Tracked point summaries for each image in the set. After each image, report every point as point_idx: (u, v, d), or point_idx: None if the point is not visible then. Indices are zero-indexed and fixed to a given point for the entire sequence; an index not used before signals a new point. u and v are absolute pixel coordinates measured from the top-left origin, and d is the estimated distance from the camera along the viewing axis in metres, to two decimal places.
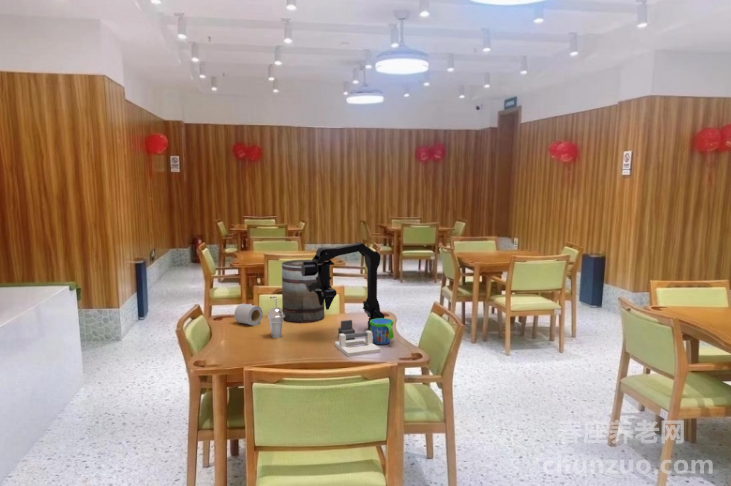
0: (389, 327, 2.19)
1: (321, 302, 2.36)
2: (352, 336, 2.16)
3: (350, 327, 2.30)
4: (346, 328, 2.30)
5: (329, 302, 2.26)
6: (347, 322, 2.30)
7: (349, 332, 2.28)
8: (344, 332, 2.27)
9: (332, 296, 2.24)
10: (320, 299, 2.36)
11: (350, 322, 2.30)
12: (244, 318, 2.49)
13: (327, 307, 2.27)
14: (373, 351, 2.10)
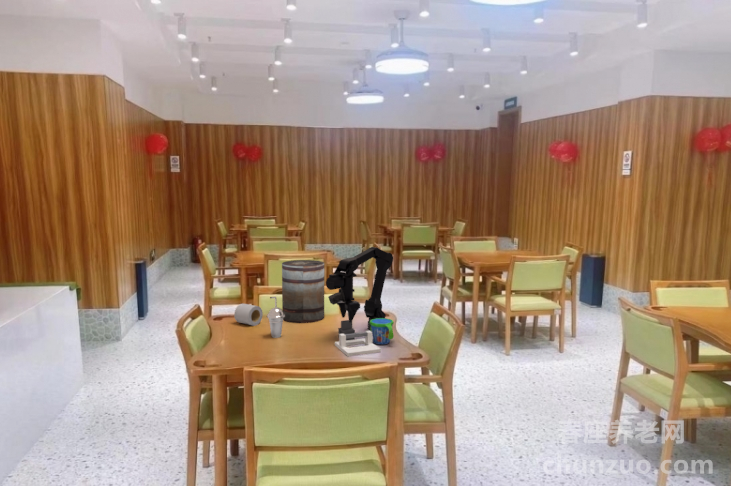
0: (389, 327, 2.19)
1: (343, 314, 2.34)
2: (352, 336, 2.16)
3: (350, 327, 2.30)
4: (346, 328, 2.30)
5: (352, 315, 2.25)
6: (347, 322, 2.30)
7: (349, 332, 2.28)
8: (344, 332, 2.27)
9: (356, 309, 2.23)
10: (342, 311, 2.34)
11: (350, 322, 2.30)
12: (244, 318, 2.49)
13: (350, 320, 2.25)
14: (373, 351, 2.10)
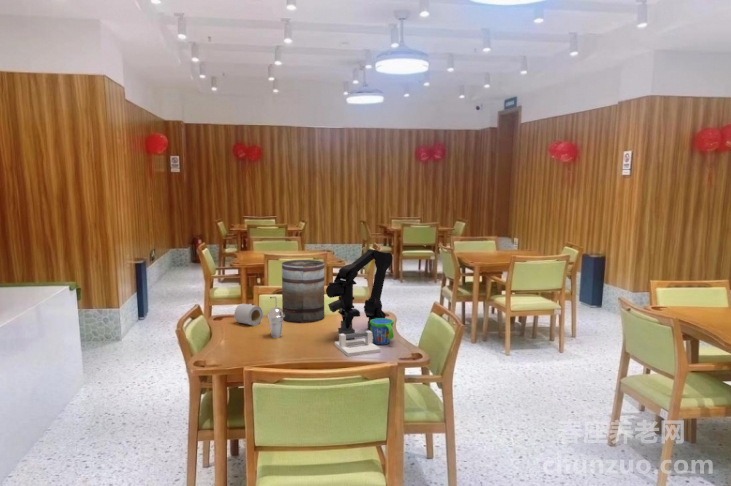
0: (389, 327, 2.19)
1: None
2: (352, 336, 2.16)
3: (350, 327, 2.30)
4: (346, 328, 2.30)
5: (349, 321, 2.28)
6: None
7: (349, 332, 2.28)
8: (344, 332, 2.27)
9: None
10: None
11: None
12: (244, 318, 2.49)
13: (347, 325, 2.29)
14: (373, 351, 2.10)
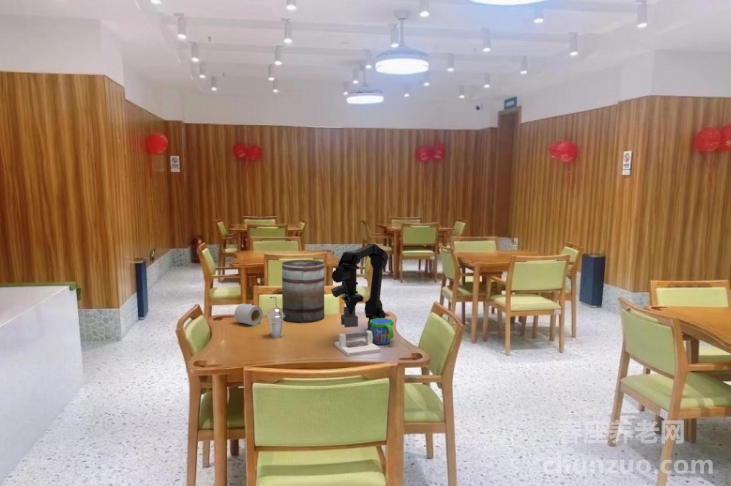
0: (389, 327, 2.19)
1: None
2: (352, 336, 2.16)
3: (353, 314, 2.24)
4: (349, 314, 2.23)
5: (352, 306, 2.22)
6: None
7: (352, 318, 2.22)
8: (347, 318, 2.21)
9: None
10: None
11: None
12: (244, 318, 2.49)
13: (350, 311, 2.22)
14: (373, 351, 2.10)
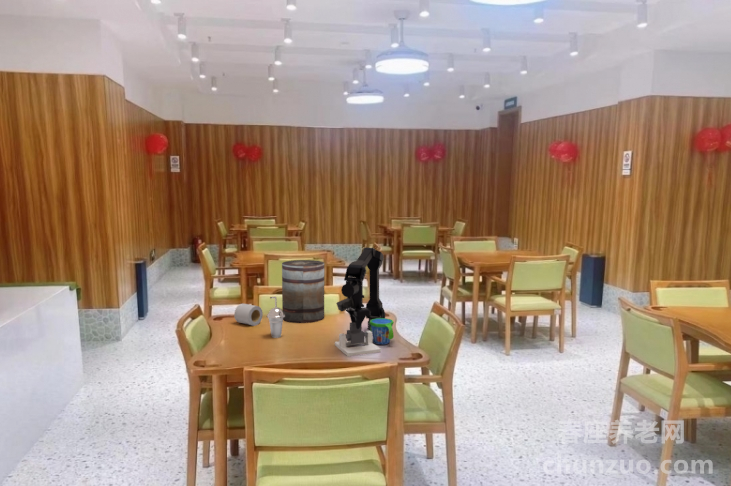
0: (389, 327, 2.19)
1: None
2: None
3: (359, 329, 2.17)
4: (355, 330, 2.16)
5: (360, 321, 2.14)
6: None
7: (358, 335, 2.15)
8: (353, 335, 2.14)
9: None
10: (353, 320, 2.19)
11: None
12: (244, 318, 2.49)
13: (358, 326, 2.14)
14: (373, 351, 2.10)
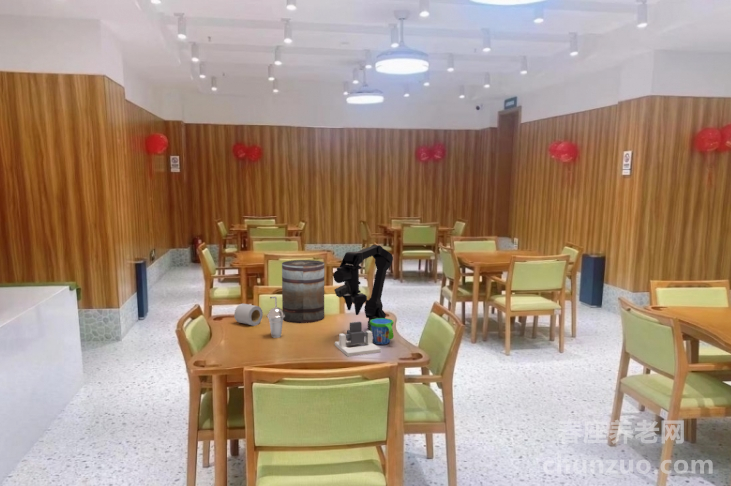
0: (389, 327, 2.19)
1: (349, 307, 2.33)
2: None
3: (359, 329, 2.17)
4: (355, 330, 2.16)
5: (359, 307, 2.24)
6: (356, 324, 2.16)
7: (358, 335, 2.15)
8: (353, 335, 2.14)
9: (362, 301, 2.22)
10: (348, 304, 2.33)
11: (359, 324, 2.17)
12: (244, 318, 2.49)
13: (357, 312, 2.24)
14: (373, 351, 2.10)
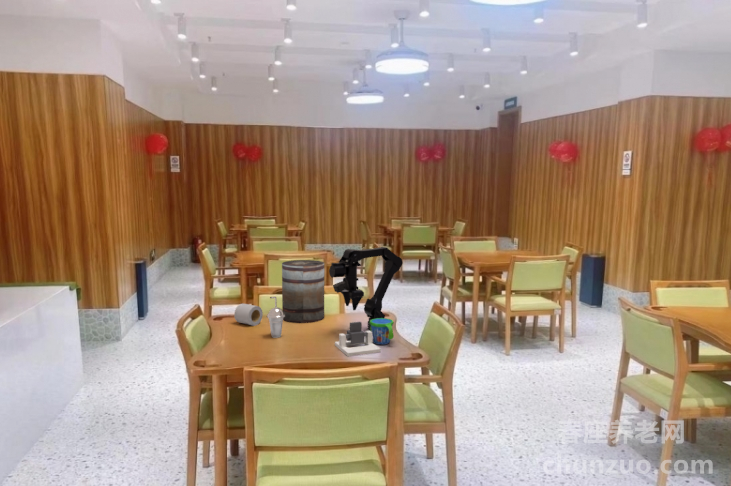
0: (389, 327, 2.19)
1: (347, 303, 2.40)
2: None
3: (359, 329, 2.17)
4: (355, 330, 2.16)
5: (356, 303, 2.30)
6: (356, 324, 2.16)
7: (358, 335, 2.15)
8: (353, 335, 2.14)
9: (359, 297, 2.28)
10: (346, 300, 2.40)
11: (359, 324, 2.17)
12: (244, 318, 2.49)
13: (354, 308, 2.31)
14: (373, 351, 2.10)
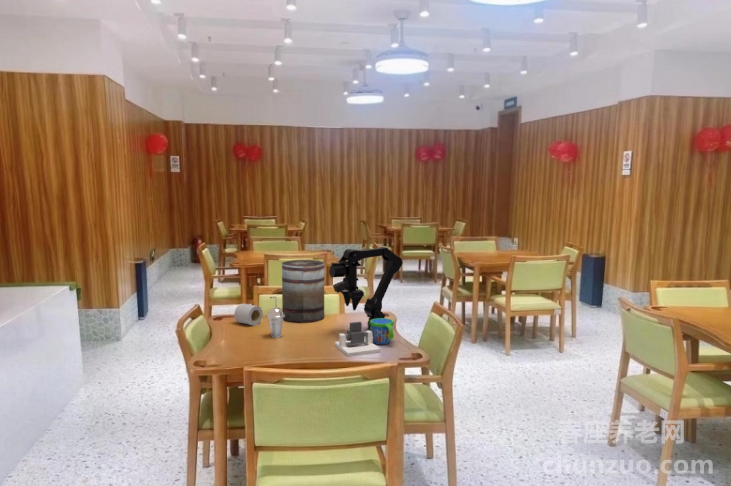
0: (389, 327, 2.19)
1: (347, 303, 2.40)
2: None
3: (359, 329, 2.17)
4: (355, 330, 2.16)
5: (356, 303, 2.30)
6: (356, 324, 2.16)
7: (358, 335, 2.15)
8: (353, 335, 2.14)
9: (359, 297, 2.28)
10: (346, 300, 2.40)
11: (359, 324, 2.17)
12: (244, 318, 2.49)
13: (354, 308, 2.31)
14: (373, 351, 2.10)
